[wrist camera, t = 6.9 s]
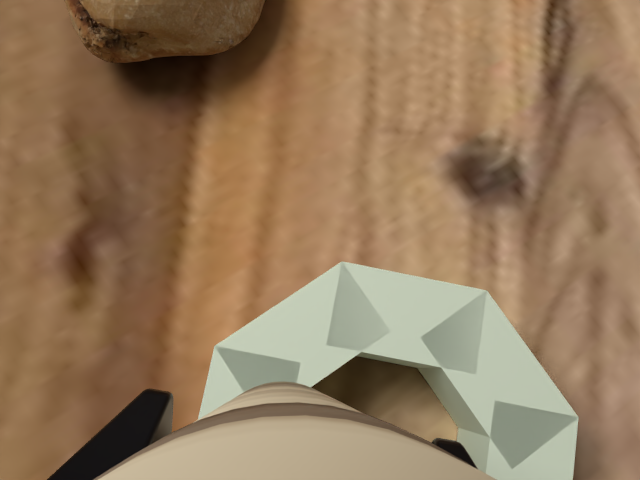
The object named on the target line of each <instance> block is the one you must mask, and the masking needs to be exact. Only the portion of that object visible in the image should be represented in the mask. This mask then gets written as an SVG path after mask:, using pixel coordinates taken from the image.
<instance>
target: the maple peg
mask: <svg viewBox="0 0 640 480" xmlns="http://www.w3.org/2000/svg"><path fill="white" fill-rule="evenodd" d="M94 480H497V479H495V478H493V477H491V476H489V475H488V474H486V473H484V472H482V471H480V470H478V469H476V468H474V467H472V466H471V465H470V464H468V463H467V462H465V461H463V460H461V459H459V458H458V457H456V456H454V455H452V454H450V453H449V452H447V451H445V450H443V449H441V448H440V447H438V446H436V445H434V444H432V443H431V442H429V441H426V440H424V439H422V438H420V437H418V436H416V435H414V434H411V433H409V432H407V431H405V430H403V429H401V428H399V427H396V426H394V425H392V424H389V423H387V422H384V421H382V420H379V419H377V418H374V417H371V416H369V415H366V414H364V413H362V412H360V411H358V410H356V409H354V408H352V407H350V406H348V405H346V404H344V403H342V402H340V401H338V400H336V399H333V398H331V397H329V396H327V395H325V394H323V393H321V392H319V391H317V390H315V389H313V388H311V387H308V386H306V385H303V384H298V383H294V382H271V383H265V384H262V385H259V386H255V387H253V388H251V389H249V390H247V391H245V392H243V393H242V394H240V395H238V396H237V397H235V398H233V399H232V400H230V401H228V402H227V403H225V404H223V405H222V406H220V407H218V408H217V409H215V410H213V411H212V412H210V413H208V414H207V415H205V416H203V417H202V418H200V419H198V420H197V421H195V422H193V423H192V424H190V425H187V426H185V427H183V428H181V429H179V430H177V431H174V432H172V433H170V434H168V435H167V436H165V437H163V438H161V439H160V440H158V441H156V442H154V443H153V444H151V445H149V446H147V447H146V448H144V449H142V450H140V451H139V452H137V453H135V454H133V455H132V456H130V457H129V458H127V459H125V460H124V461H122V462H121V463H119V464H117V465H116V466H114V467H113V468H111V469H109V470H108V471H106V472H105V473H103V474H101V475H100V476H98V477H97V478H95V479H94Z"/></svg>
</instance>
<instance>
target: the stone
mask: <svg viewBox="0 0 640 480" xmlns="http://www.w3.org/2000/svg"><path fill="white" fill-rule="evenodd" d="M265 2H266V0H65V3H66V6H67V9H68V12H69V15H70V18H71V21H72V24H73V27H74V29H75V30H76V32H77V34H78V35H79V37H80V39H81V41H82V42H83V44H84V45H85V47H86V48H87V49H88V50H89V51H90V52H91V53H92V54H93V55H95V56H97V57H98V58H100V59H102V60H104V61H107V62H113V63H129V62H137V61H145V60H149V59H151V58H157V57H168V56H192V55H213V54H217V53H221V52H224V51H227V50H228V49H230V48H232V47H234V46H236V45H237V44H239V43H240V42H242V41H243V40H245V39H246V38H247V37H248V35H249V34H250V32H251V31H252V29H253V28H254V26H255V25H256V23H257V22H258V20H259V18H260V15H261V11H262V8H263V5H264V3H265Z"/></svg>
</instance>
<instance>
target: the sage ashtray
mask: <svg viewBox="0 0 640 480" xmlns="http://www.w3.org/2000/svg"><path fill="white" fill-rule="evenodd" d="M355 356H359V357H364V358H369V359H374V360H379V361H384V362H390V363H395V364H400V365H405V366H410V367H415V368H418V370H419V371H420V373H421V374H422V376H423V377H424V378H425V380H426V381H427V383H428V384H429V386H430V387H431V389H432V390H433V392H434V393H435V394H436V396H437V397H438V399H439V400H440V402H441V403H442V405H443V406H444V407H445V409H446V410H447V412H448V413H449V415H450V416H451V418H452V419H453V421H454V422H455V423H456V425H457V426H458V434H457V442H460V443H461V444H462V445H463V446H464V448H465V449H466V451H467V452H468V454H469V455H470V457H471V459H472V460H473V462H474V463H475V465H476V467H477V468H478V470H480V471H482V472H484V473H486V474H488V475H489V476H491V477H493V478H495V479H497V480H573V472H574V461H575V450H576V439H577V428H578V416H577V414H576V413H575V412H574V410H573V409H572V408H571V406H570V405H569V403H568V402H567V401H566V399H565V398H564V397H563V395H562V394H561V392H560V391H559V390H558V388H557V387H556V385H555V384H554V383H553V381H552V380H551V379H550V377H549V376H548V374H547V373H546V372H545V370H544V369H543V367H542V366H541V365H540V363H539V362H538V361H537V359H536V358H535V356H534V355H533V354H532V352H531V351H530V349H529V348H528V347H527V345H526V344H525V343H524V341H523V340H522V338H521V337H520V336H519V334H518V333H517V331H516V330H515V329H514V327H513V326H512V325H511V323H510V322H509V320H508V319H507V318H506V316H505V315H504V313H503V312H502V311H501V309H500V308H499V307H498V305H497V304H496V302H495V301H494V300H493V298H492V297H491V296H490V294H489V293H488V291H487V290H482V289H477V288H472V287H467V286H462V285H457V284H452V283H447V282H442V281H437V280H432V279H427V278H422V277H417V276H412V275H407V274H402V273H397V272H392V271H387V270H382V269H377V268H372V267H367V266H362V265H357V264H352V263H347V262H340V263H339V264H337V265H336V266H334V267H333V268H331V269H330V270H328V271H327V272H325V273H324V274H322V275H321V276H319V277H318V278H316V279H315V280H313V281H312V282H310V283H309V284H307V285H306V286H304V287H303V288H301V289H300V290H298V291H297V292H295V293H294V294H292V295H291V296H289V297H288V298H286V299H285V300H283V301H282V302H280V303H279V304H277V305H276V306H274V307H273V308H271V309H270V310H268V311H267V312H265V313H264V314H262V315H261V316H259V317H258V318H256V319H255V320H253V321H252V322H250V323H249V324H247V325H246V326H244V327H243V328H241V329H240V330H238V331H236V332H235V333H233V334H232V335H230V336H229V337H227V338H226V339H224V340H223V341H221V342H220V343H218V344H217V345H215V347H214V351H213V356H212V360H211V364H210V369H209V373H208V378H207V382H206V387H205V391H204V395H203V400H202V404H201V409H200V413H199V418H198V419H200V418H202V417H203V416H205V415H207V414H208V413H210V412H212V411H213V410H215V409H217V408H218V407H220V406H222V405H223V404H225V403H227V402H228V401H230V400H232V399H233V398H235V397H237V396H238V395H240V394H242V393H243V392H245V391H247V390H249V389H251V388H253V387H255V386H259V385H262V384H265V383H271V382H294V383H298V384H303V385H306V386H308V387H312V386H313V385H315V384H316V383H318V382H319V381H321V380H322V379H323V378H325V377H326V376H328V375H329V374H331V373H332V372H333V371H335V370H336V369H338V368H339V367H341V366H342V365H343V364H345V363H346V362H348V361H349V360H351V359H352V358H353V357H355Z"/></svg>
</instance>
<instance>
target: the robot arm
mask: <svg viewBox="0 0 640 480" xmlns="http://www.w3.org/2000/svg"><path fill="white" fill-rule="evenodd" d="M172 416H173V395H172V393H170V392H167V391H161V390H156V389H146V390H144V391H143V392H142V393H141V394H140V395H138V396H137V397H136V398H135V399H134V400H133V401H132V402H131V403H130V404H129V405H128V406H126V407H125V408H124V409H123V410H122V411H121V412H120V413H119V414H118V415H117V416H116V417H115V418H113V419H112V420H111V421H110V422H109V423H108V424H107V425H106V426H105V427H104V428H103V429H101V430H100V431H99V432H98V433H97V434H96V435H95V436H94V437H93V438H92V439H91V440H90V441H88V442H87V443H86V444H85V445H84V446H83V447H82V448H81V449H80V450H79V451H78V452H76V453H75V454H74V455H73V456H72V457H71V458H70V459H69V460H68V461H67V462H66V463H65V464H63V465H62V466H61V467H60V468H59V469H58V470H57V471H56V472H55V473H54V474H53V475H51V476H50V477H49V478H48V479H47V480H94V479H95V478H97V477H98V476H100V475H101V474H103V473H105V472H106V471H108V470H109V469H111V468H113V467H114V466H116V465H117V464H119V463H121V462H122V461H124V460H125V459H127V458H129V457H130V456H132V455H133V454H135V453H137V452H139V451H140V450H142V449H144V448H146V447H147V446H149V445H151V444H153V443H154V442H156V441H158V440H160V439H161V438H163V437H165V436H167V435H168V434H170V433H171V431H172ZM432 444H434V445H436V446H438V447H440V448H441V449H443V450H445V451H447V452H449V453H450V454H452V455H454V456H456V457H458V458H459V459H461V460H463V461H465V462H467V463H468V464H470V465H471V466H472V467H474V468H476V469H478V468H477V467H476V465H475V463H474V462H473V460H472V459H471V457H470V455H469V454H468V452H467V451H466V449H465V448H464V446H463V445H462V444H461V443H460V442H457V441H453V440H447V439H441V438H436V439H434V440H433V442H432Z"/></svg>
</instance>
